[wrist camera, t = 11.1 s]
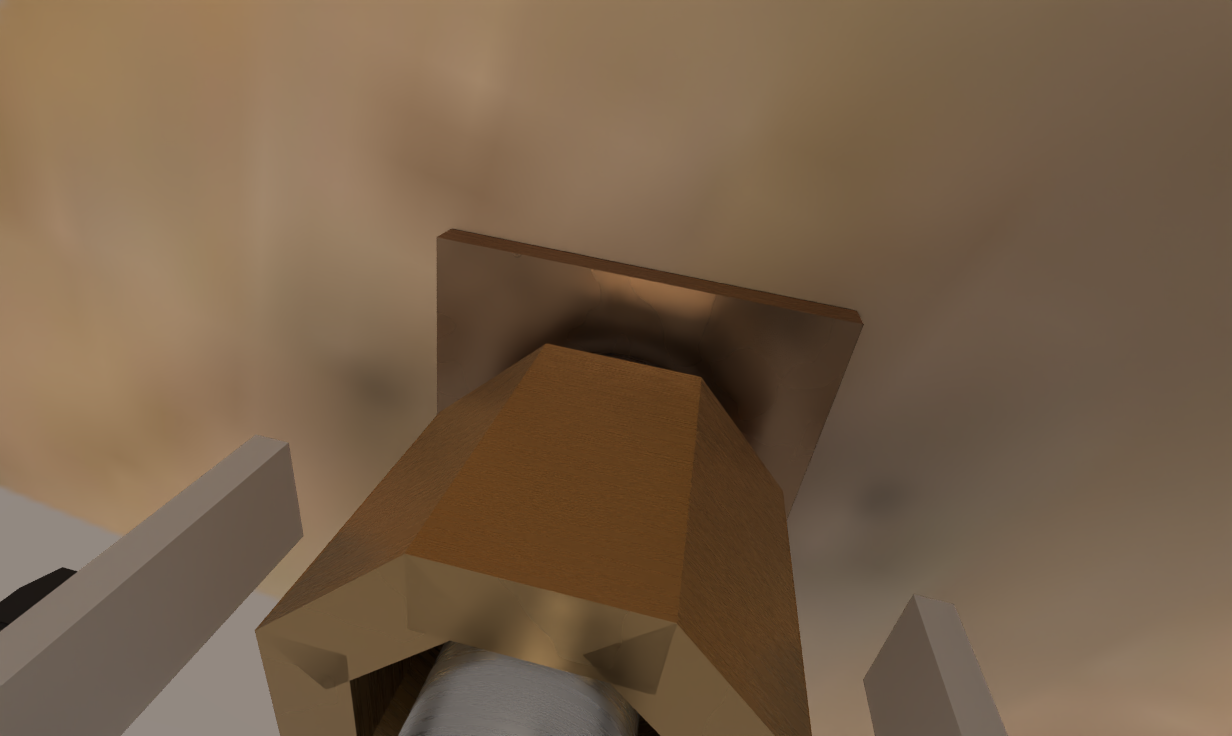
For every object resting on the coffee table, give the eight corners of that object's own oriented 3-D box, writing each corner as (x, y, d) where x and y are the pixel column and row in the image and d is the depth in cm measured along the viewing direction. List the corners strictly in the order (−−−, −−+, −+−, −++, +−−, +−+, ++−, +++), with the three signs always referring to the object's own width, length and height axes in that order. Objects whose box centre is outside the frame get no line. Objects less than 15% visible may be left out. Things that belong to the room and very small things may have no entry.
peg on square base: (451, 228, 14) (-218, 613, 4) (856, 311, 13) (1227, 1040, 3) (448, 523, 19) (132, 1031, 9) (747, 597, 18) (765, 1250, 8)
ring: (440, 320, 12) (225, 507, 7) (816, 402, 12) (883, 675, 6) (440, 577, 16) (301, 822, 11) (722, 650, 15) (717, 947, 10)
